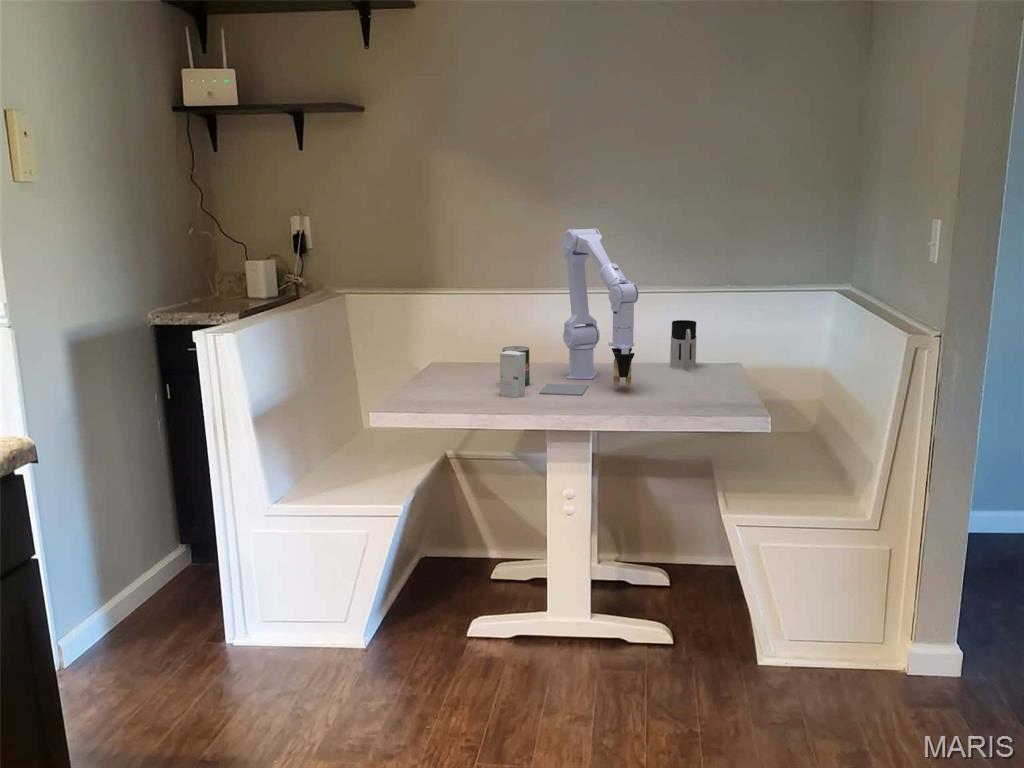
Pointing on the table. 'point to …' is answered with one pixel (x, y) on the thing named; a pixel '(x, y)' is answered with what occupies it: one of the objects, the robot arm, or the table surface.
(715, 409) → the table surface
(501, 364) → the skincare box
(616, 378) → the notched wooden block
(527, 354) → the canned tomato
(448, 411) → the table surface
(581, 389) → the slate mat
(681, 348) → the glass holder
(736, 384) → the table surface
